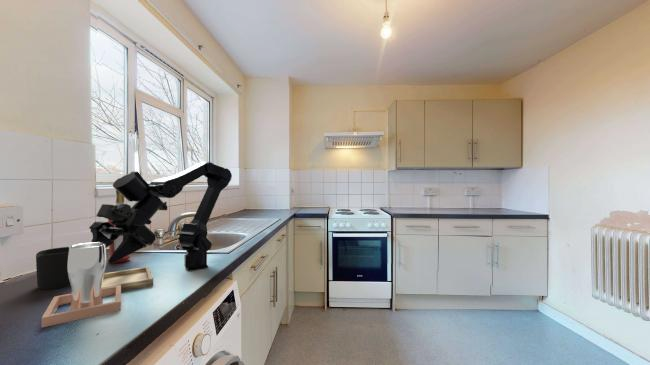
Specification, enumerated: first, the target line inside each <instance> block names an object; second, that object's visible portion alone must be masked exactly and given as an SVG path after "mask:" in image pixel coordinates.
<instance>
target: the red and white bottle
mask: <svg viewBox="0 0 650 365" xmlns="http://www.w3.org/2000/svg"><path fill="white" fill-rule="evenodd" d="M115 194H116V199H115V205H117V206H119V205H120V204H126V203H125V202H126V201H125V197H124V196H123V195H121V194H120V193H119V192H118V191H117V190H116V189H115ZM107 220H108V221H107V222H109V223H110V224H111V225H112V226H114V227H115V225H113V224H112V223H111V222H110V221H111V220H110V219H107ZM122 241H123V236H119V237H118V238H117V239H116V240H114V241H113V242H114V243H113V244H111V245H110V246H108V247H109V249H108V250H109V257H108V259H107V261H108V260H109V258H110V257H111V256H112V254H113V253H114V252H115V250H116V249H117V248H118V246H119V245H120V244H121V242H122ZM130 258H131V254H129V255H127V256H126V257H124V258H122V259H120V260H118V261H116V262H114V263H113V264H122V263H126V262H127V261H128V260H129V259H130ZM121 262H122V263H121Z"/></svg>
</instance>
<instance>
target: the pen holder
mask: <svg viewBox="0 0 650 365" xmlns="http://www.w3.org/2000/svg"><path fill="white" fill-rule="evenodd" d="M69 247H70V246H62V247H54V248H49V249H43V250H39V251H37V253H36V255H35V263H36V264H35V266H36V268H35V269H36V283H37V286H36V287H37V288H38V289H39V290H45V291H46V290H47V291H49V290H56V289H61V288H65V287H71V286H70V282H69V277H68V270H67V263H68V253H69Z"/></svg>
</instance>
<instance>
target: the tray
mask: <svg viewBox="0 0 650 365" xmlns="http://www.w3.org/2000/svg"><path fill="white" fill-rule="evenodd" d="M117 285H121V292H126V291H130V290H136V289H142V288H146V287H150V286H151V287H153V286H154V277H153V274H152V271H151V267H150V266H145V267H136V268H130V269H124V270H118V271H112V272H110V271H109V272H105V273H104V277H103V282H102V287H101V288H105V287H111V286H117Z"/></svg>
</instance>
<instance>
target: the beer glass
mask: <svg viewBox="0 0 650 365" xmlns="http://www.w3.org/2000/svg"><path fill="white" fill-rule="evenodd" d="M68 247H69V253H68V263H67V270H68V277H69V282H70V286H69V287H70V289H71V293H72V301H71V303H70V306H69V310H68V311H70V310H75V309H80V308H85V307H90V306H95V305H100V304H104V300H103V297H102V294H101V287H102V282H103V277H104V273H106V267H107V252H106V251H107V248H105V243H103V242H93V243H91V242H85V243H83V242H82V243H77V244H73V245H70V246H68Z"/></svg>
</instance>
